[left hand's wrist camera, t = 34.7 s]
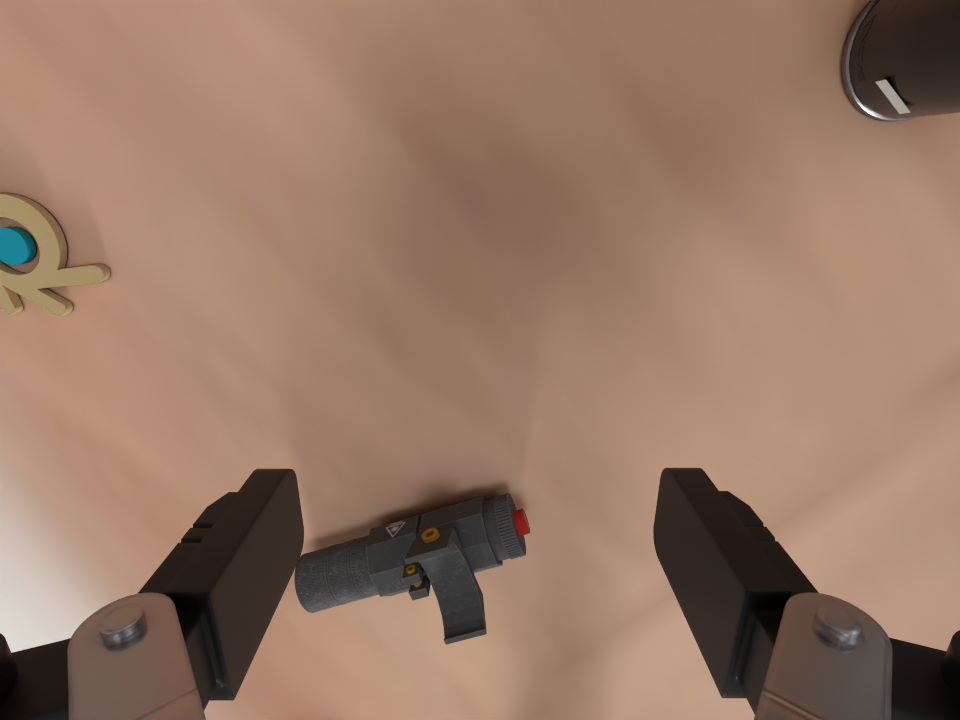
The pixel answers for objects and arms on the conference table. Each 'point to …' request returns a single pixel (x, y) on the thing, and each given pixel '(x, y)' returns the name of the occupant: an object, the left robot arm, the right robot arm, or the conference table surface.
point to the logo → (50, 271)
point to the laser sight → (420, 561)
